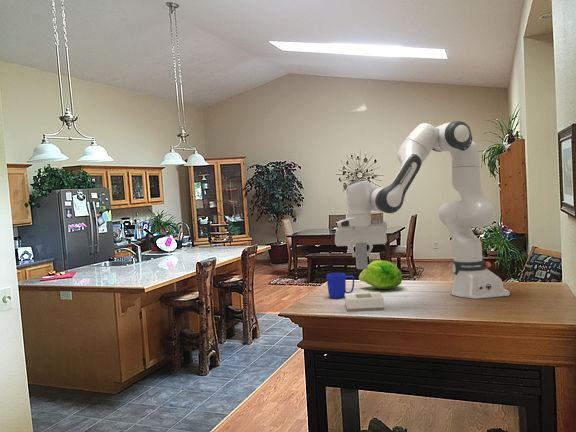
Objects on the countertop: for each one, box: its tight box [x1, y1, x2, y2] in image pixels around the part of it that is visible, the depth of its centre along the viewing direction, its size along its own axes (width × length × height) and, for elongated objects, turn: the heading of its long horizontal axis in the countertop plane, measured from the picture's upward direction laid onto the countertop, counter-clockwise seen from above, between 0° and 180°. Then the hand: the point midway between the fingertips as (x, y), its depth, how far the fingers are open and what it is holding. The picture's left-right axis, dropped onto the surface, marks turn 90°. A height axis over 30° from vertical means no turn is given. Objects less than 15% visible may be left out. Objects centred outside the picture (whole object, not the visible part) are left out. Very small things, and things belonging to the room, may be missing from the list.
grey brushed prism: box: [354, 243, 369, 270], centre depth 199 cm, size 4×5×10 cm
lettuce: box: [358, 259, 403, 290], centre depth 232 cm, size 15×20×14 cm
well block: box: [344, 291, 385, 313], centre depth 200 cm, size 14×12×4 cm
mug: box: [325, 272, 355, 299], centre depth 220 cm, size 8×12×10 cm
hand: (361, 256), depth 199 cm, fingers closed on grey brushed prism, 4 cm apart
